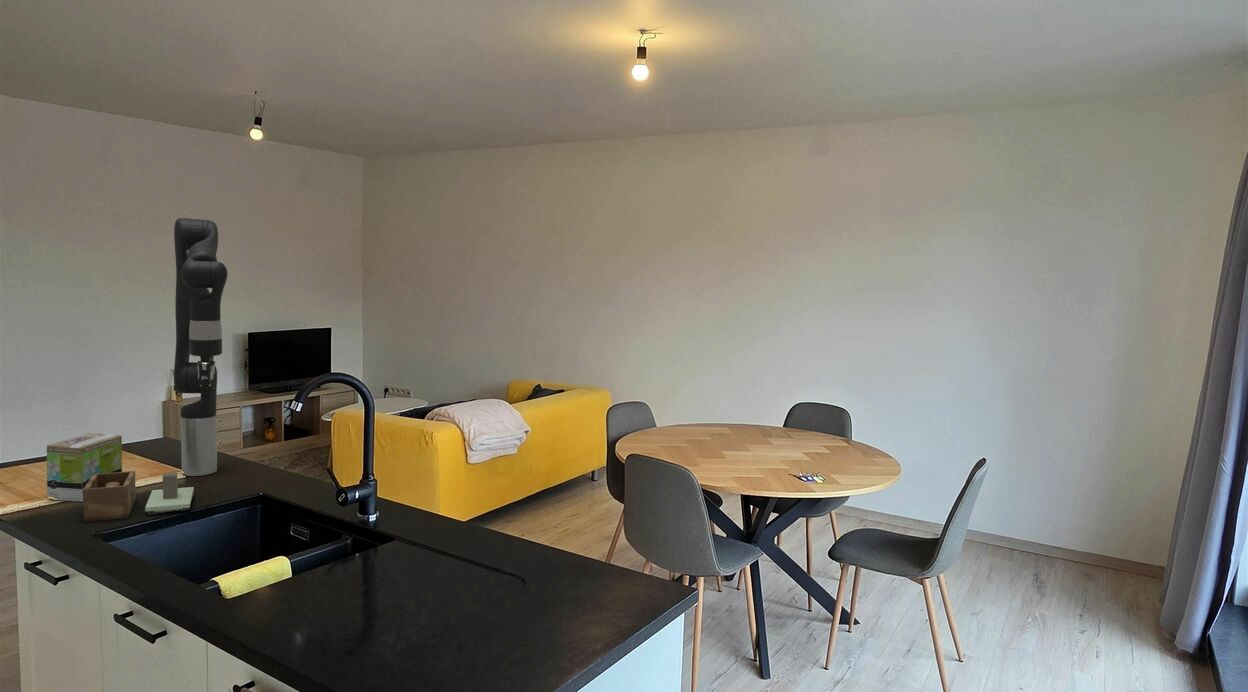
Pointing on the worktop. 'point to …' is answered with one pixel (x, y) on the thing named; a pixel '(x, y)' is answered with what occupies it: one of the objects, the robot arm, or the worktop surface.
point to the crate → (109, 496)
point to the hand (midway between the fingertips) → (207, 397)
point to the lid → (169, 496)
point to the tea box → (80, 463)
